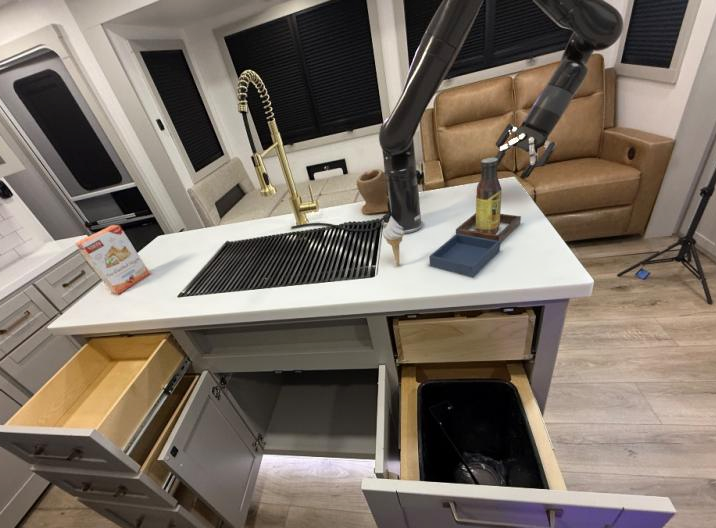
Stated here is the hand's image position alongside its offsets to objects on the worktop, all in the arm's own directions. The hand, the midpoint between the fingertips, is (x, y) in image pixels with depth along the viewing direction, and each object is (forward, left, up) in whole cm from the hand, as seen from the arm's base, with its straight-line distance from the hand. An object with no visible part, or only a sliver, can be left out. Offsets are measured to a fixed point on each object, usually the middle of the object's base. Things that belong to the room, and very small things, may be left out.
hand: (508, 171), depth 95 cm
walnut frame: (0, -11, -13) cm, 17 cm away
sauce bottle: (0, -11, -13) cm, 17 cm away
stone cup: (-42, -9, -13) cm, 45 cm away
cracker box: (-98, -90, -13) cm, 134 cm away
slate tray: (+2, -27, -13) cm, 30 cm away
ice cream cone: (-12, -37, -13) cm, 41 cm away
